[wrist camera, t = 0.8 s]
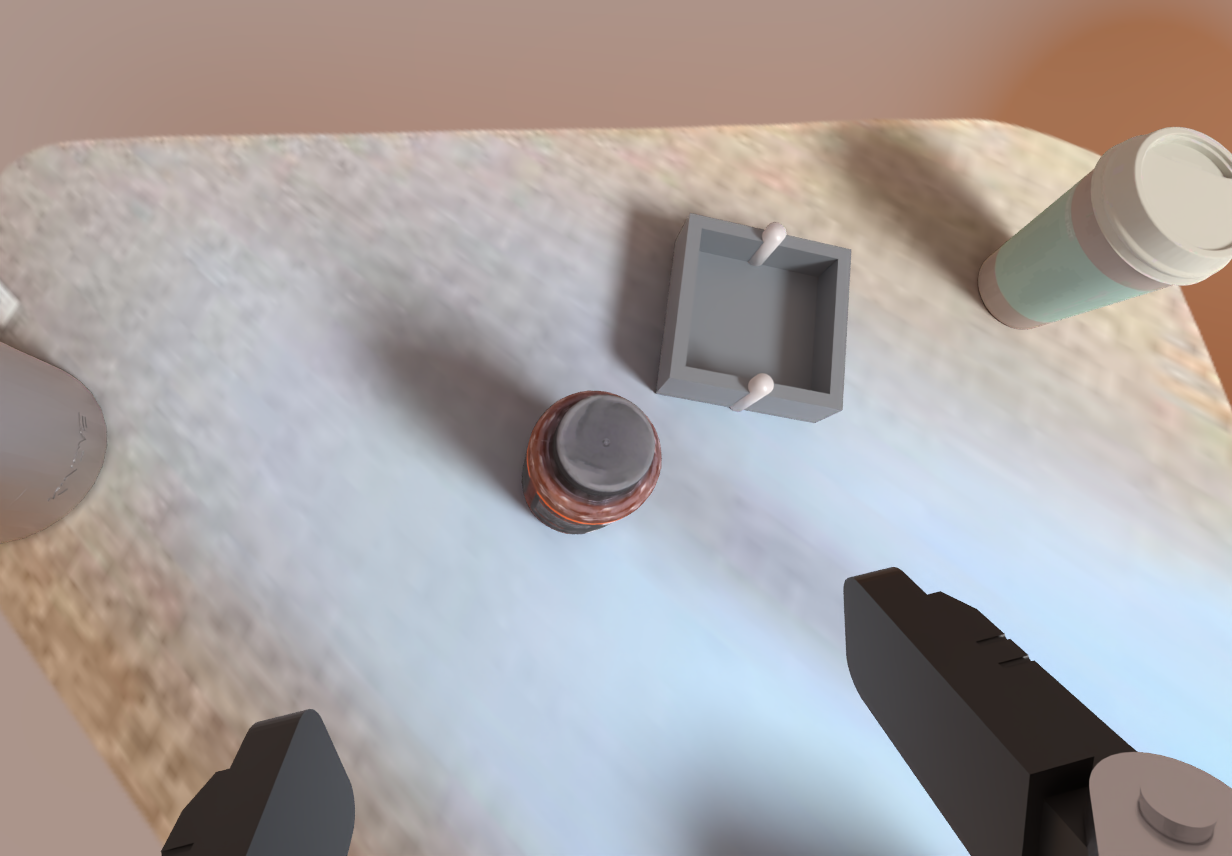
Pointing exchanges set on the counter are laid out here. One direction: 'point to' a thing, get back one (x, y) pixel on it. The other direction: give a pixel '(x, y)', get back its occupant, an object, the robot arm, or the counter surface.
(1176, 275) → the coffee cup
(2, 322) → the counter surface
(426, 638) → the counter surface
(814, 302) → the tray
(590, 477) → the supplement bottle
